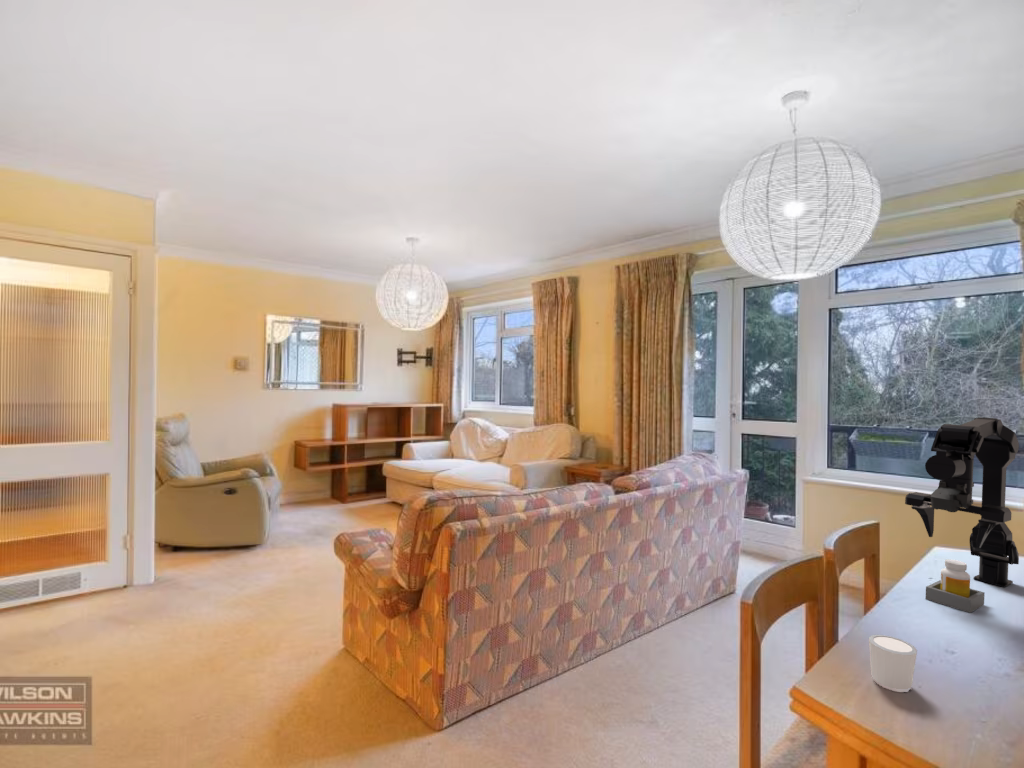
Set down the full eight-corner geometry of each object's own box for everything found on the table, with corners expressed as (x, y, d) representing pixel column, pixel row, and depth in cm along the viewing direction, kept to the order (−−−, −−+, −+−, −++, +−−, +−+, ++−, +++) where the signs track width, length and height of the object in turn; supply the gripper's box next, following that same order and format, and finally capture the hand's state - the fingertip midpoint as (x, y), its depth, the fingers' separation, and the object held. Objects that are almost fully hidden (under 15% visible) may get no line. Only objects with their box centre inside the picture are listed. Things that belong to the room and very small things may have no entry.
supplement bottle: (975, 607, 123) (977, 566, 123) (952, 606, 123) (953, 565, 123) (956, 597, 129) (957, 558, 128) (934, 596, 129) (935, 557, 129)
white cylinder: (918, 700, 86) (919, 658, 86) (868, 686, 90) (869, 646, 90) (913, 680, 92) (914, 641, 92) (866, 668, 96) (867, 630, 96)
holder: (939, 591, 132) (940, 580, 132) (984, 604, 125) (984, 592, 125) (925, 598, 127) (925, 586, 127) (970, 612, 120) (970, 600, 120)
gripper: (896, 472, 128) (893, 535, 128) (996, 487, 113) (993, 559, 113) (916, 470, 134) (913, 530, 134) (1013, 483, 118) (1010, 552, 119)
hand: (953, 542), depth 125 cm, fingers open, 9 cm apart
